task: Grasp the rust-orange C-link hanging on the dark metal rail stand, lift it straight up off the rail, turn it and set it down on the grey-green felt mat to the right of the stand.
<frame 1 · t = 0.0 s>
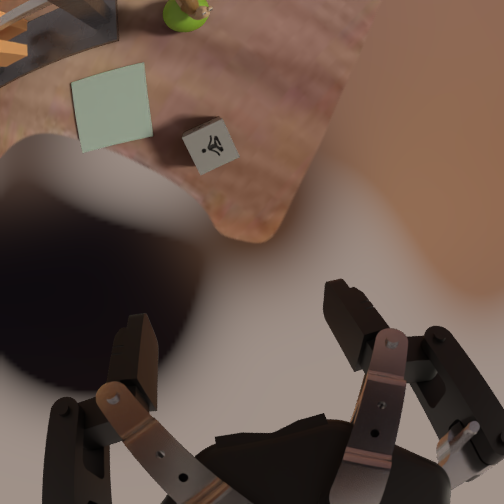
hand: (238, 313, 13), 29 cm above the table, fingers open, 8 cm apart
snail figurine: (188, 20, 28), on the table
c link: (16, 43, 20), point 5 cm above the table, touching rail stand
felt mat: (111, 107, 31), on the table
dice cube: (208, 141, 37), on the table
rail stand: (31, 46, 23), on the table
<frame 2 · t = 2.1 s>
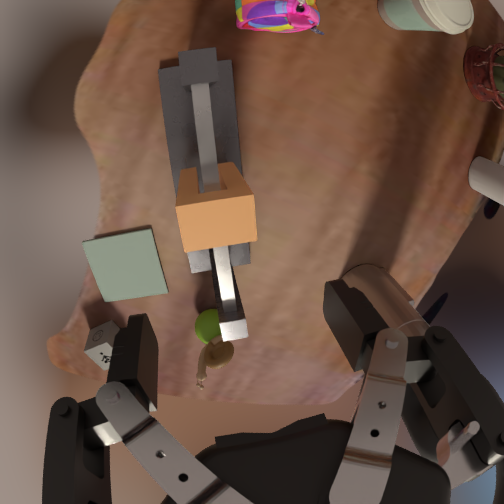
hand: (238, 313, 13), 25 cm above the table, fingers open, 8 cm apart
lantern: (479, 73, 32), on the table
bottle: (477, 172, 42), on the table
snail figurine: (209, 315, 45), on the table
c link: (208, 181, 30), point 5 cm above the table, touching rail stand
coffee cup: (393, 12, 27), on the table
felt mat: (125, 267, 38), on the table
dice cube: (110, 333, 44), on the table
rail stand: (206, 171, 34), on the table
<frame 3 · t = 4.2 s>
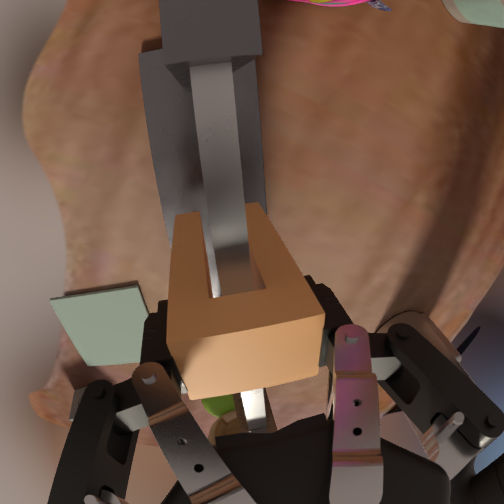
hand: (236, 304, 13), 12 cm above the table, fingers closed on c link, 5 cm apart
snail figurine: (218, 379, 35), on the table
c link: (220, 233, 20), point 5 cm above the table, touching gripper, rail stand
felt mat: (108, 330, 28), on the table
dice cube: (98, 394, 33), on the table
rail stand: (214, 208, 24), on the table
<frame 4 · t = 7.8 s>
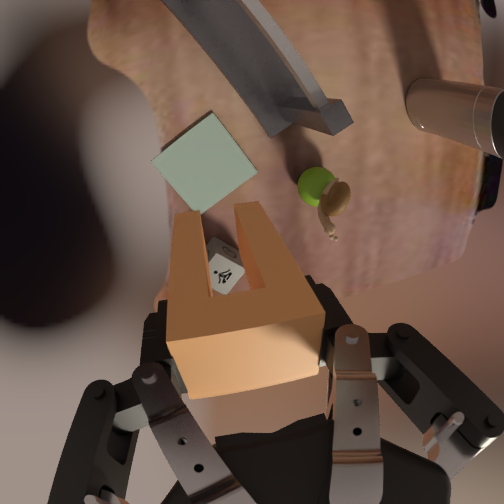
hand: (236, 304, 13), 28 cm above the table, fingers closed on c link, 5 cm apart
snail figurine: (308, 183, 42), on the table
c link: (220, 232, 20), point 21 cm above the table, touching gripper
felt mat: (204, 165, 37), on the table
dice cube: (217, 255, 45), on the table
rail stand: (237, 42, 30), on the table
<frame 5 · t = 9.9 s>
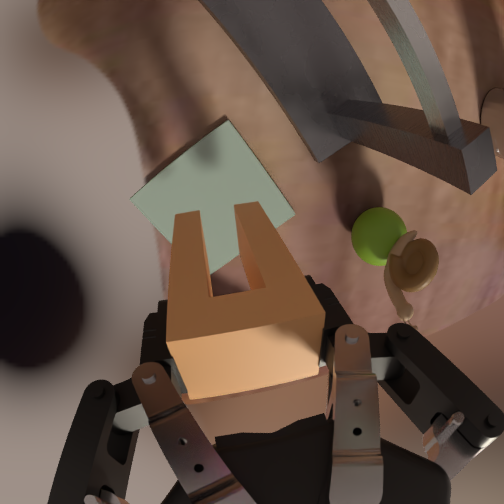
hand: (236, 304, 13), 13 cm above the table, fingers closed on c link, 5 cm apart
snail figurine: (362, 227, 29), on the table
c link: (220, 232, 20), point 6 cm above the table, touching gripper
felt mat: (214, 204, 25), on the table
rail stand: (268, 9, 17), on the table
when the fingers open (9 cm above the table, at t = 11.5 s): c link drops 1 cm, resting on felt mat.
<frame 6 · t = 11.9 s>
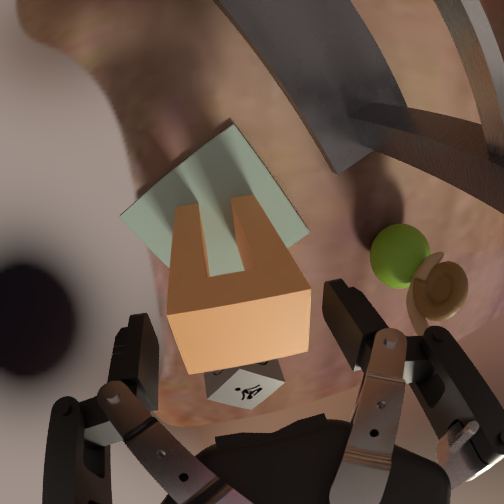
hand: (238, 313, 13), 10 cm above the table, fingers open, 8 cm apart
snail figurine: (380, 244, 26), on the table
c link: (218, 224, 21), resting on felt mat
felt mat: (217, 222, 21), on the table
dice cube: (236, 349, 29), on the table
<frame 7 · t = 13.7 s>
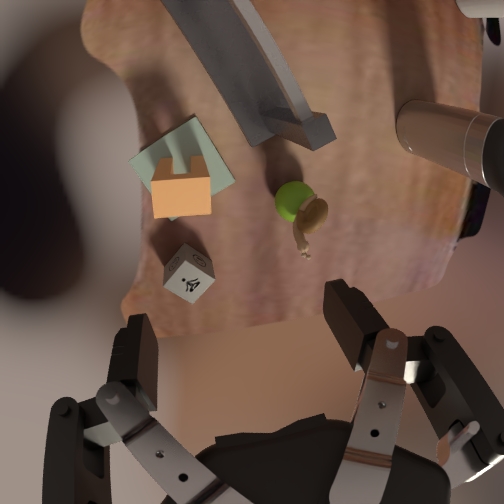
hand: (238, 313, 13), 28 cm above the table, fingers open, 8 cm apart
bottle: (463, 3, 28), on the table
snail figurine: (286, 197, 41), on the table
c link: (182, 170, 36), resting on felt mat
felt mat: (182, 169, 36), on the table
dice cube: (187, 263, 43), on the table
rail stand: (229, 46, 30), on the table
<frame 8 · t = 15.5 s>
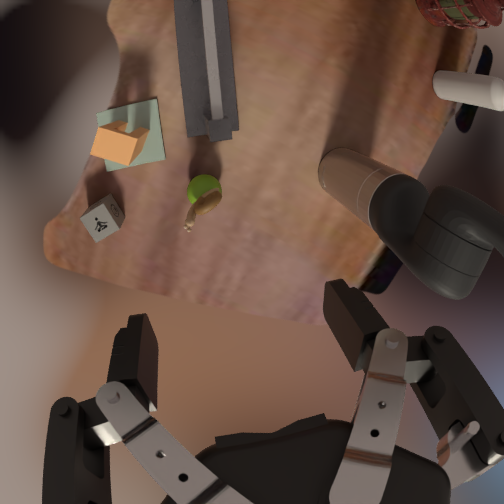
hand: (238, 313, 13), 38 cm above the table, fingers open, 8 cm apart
lantern: (431, 5, 36), on the table
bottle: (441, 84, 45), on the table
snail figurine: (201, 188, 48), on the table
c link: (130, 135, 41), resting on felt mat
felt mat: (130, 135, 41), on the table
dice cube: (107, 211, 47), on the table
rail stand: (204, 55, 38), on the table
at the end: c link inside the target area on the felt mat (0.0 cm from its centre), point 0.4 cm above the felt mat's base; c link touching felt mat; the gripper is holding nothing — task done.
